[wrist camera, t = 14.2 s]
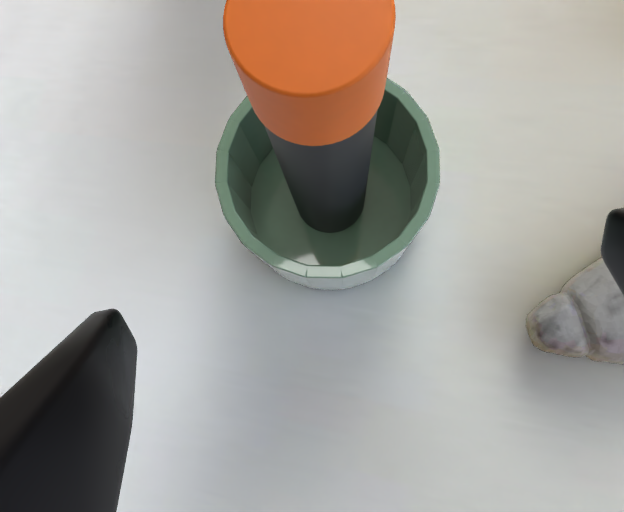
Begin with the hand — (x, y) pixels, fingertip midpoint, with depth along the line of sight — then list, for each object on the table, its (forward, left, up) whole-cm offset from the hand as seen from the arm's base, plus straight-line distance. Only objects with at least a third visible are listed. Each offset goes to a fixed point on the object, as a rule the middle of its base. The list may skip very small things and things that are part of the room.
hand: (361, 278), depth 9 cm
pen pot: (+5, +1, -13) cm, 14 cm away
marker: (+5, +1, -12) cm, 13 cm away
